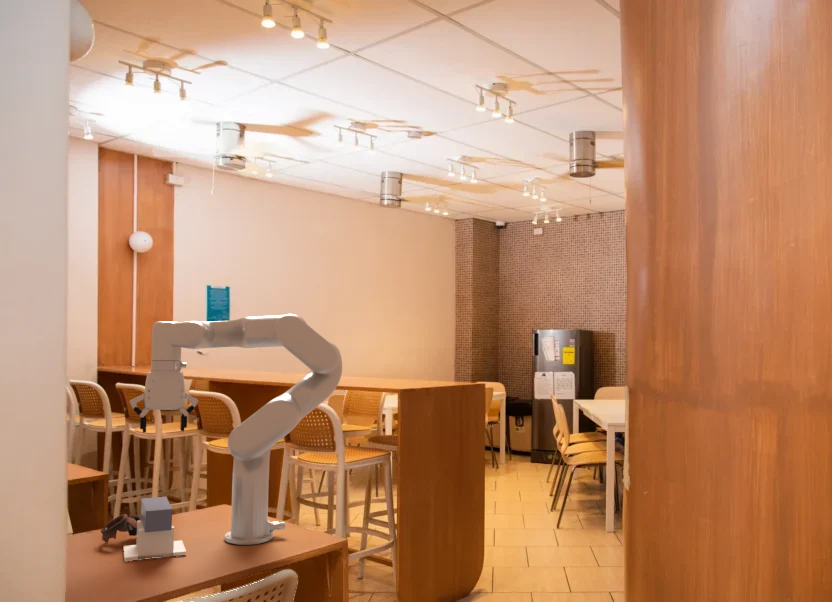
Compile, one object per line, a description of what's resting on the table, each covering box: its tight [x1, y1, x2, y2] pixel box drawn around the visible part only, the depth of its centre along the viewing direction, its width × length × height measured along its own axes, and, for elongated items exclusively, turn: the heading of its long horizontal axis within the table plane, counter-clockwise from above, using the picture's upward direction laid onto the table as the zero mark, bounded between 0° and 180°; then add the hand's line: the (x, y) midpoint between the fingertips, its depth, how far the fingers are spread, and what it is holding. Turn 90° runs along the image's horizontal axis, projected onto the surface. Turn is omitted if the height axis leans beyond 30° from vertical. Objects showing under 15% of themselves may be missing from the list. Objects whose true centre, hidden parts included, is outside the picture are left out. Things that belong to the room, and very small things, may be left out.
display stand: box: [123, 519, 187, 563], centre depth 173 cm, size 14×10×7 cm
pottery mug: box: [100, 513, 141, 543], centre depth 182 cm, size 12×10×8 cm
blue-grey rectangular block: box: [140, 496, 173, 532], centre depth 174 cm, size 6×14×5 cm, turn 25°
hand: (163, 431), depth 186 cm, fingers open, 9 cm apart
